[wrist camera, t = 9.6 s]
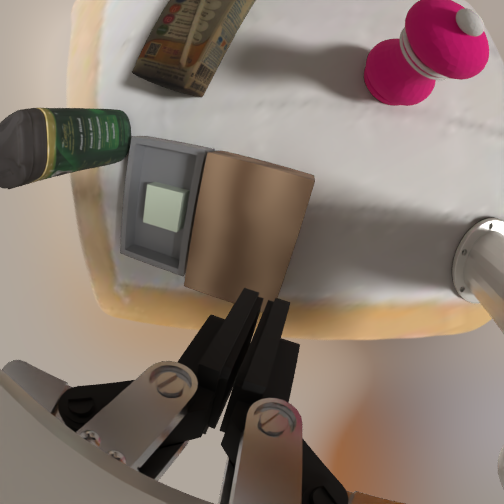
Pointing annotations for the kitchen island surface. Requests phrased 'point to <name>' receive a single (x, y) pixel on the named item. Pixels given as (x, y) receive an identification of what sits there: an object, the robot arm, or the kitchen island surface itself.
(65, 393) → the robot arm
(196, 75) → the beverage carton
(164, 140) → the tray
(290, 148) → the kitchen island surface
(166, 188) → the tile
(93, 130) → the coffee jar
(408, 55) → the pepper mill
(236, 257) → the board
